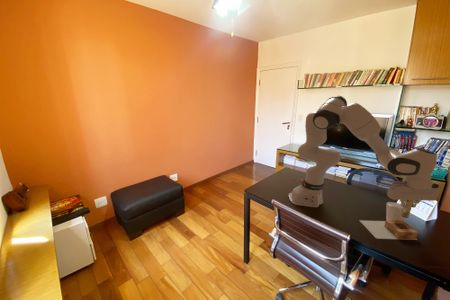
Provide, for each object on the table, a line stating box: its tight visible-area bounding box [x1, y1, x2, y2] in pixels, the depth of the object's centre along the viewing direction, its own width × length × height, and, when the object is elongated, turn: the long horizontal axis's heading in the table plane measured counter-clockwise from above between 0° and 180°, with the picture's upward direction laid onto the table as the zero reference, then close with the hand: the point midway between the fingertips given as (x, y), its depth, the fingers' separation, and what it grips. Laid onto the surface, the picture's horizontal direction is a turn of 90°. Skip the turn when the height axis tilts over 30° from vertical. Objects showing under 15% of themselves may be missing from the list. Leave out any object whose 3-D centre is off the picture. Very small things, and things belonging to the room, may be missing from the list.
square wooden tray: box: [384, 220, 419, 240], centre depth 99 cm, size 9×9×4 cm
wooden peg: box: [401, 200, 414, 219], centre depth 94 cm, size 3×3×12 cm
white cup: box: [385, 201, 404, 221], centre depth 107 cm, size 8×8×10 cm
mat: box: [359, 219, 418, 241], centre depth 102 cm, size 20×14×1 cm
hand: (407, 206), depth 94 cm, fingers closed on wooden peg, 3 cm apart
